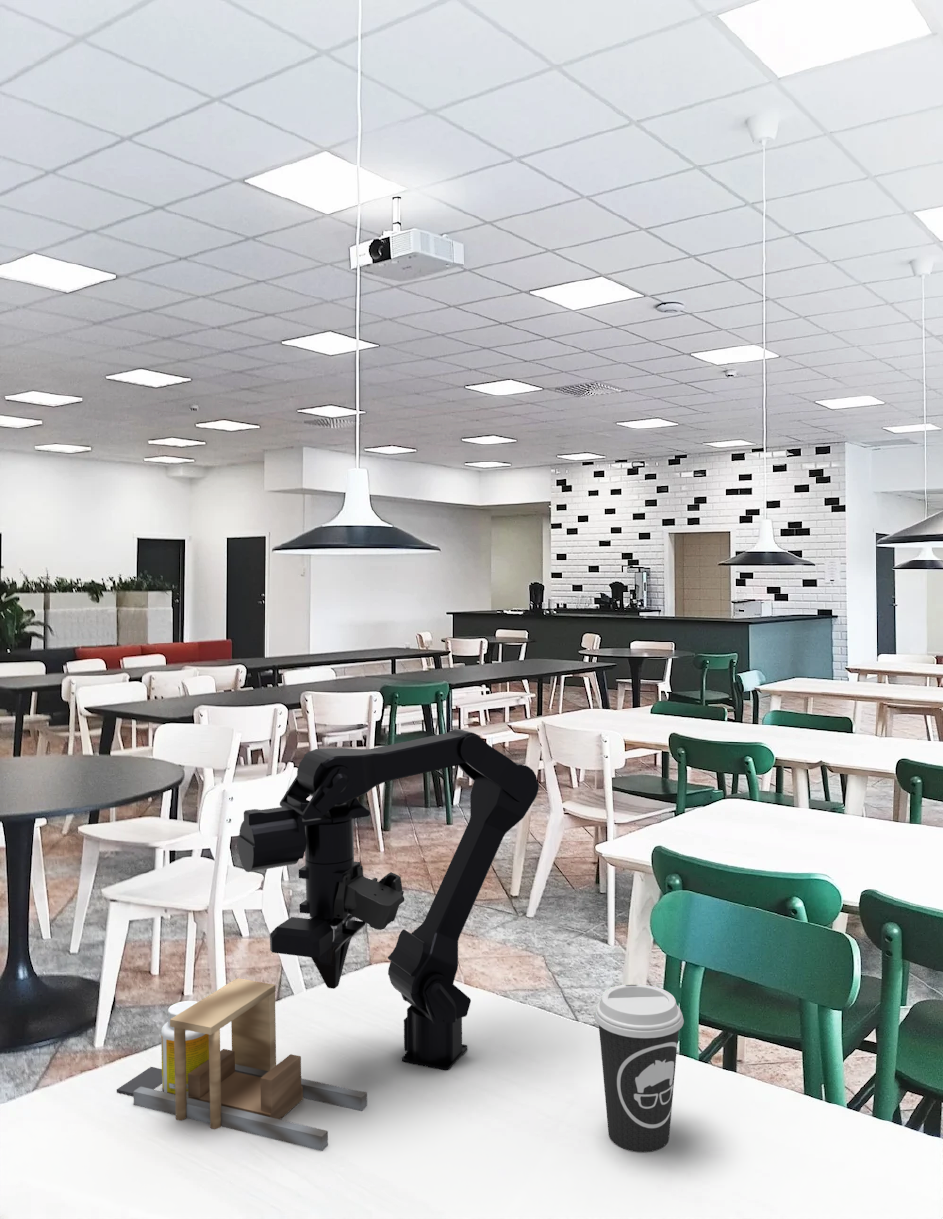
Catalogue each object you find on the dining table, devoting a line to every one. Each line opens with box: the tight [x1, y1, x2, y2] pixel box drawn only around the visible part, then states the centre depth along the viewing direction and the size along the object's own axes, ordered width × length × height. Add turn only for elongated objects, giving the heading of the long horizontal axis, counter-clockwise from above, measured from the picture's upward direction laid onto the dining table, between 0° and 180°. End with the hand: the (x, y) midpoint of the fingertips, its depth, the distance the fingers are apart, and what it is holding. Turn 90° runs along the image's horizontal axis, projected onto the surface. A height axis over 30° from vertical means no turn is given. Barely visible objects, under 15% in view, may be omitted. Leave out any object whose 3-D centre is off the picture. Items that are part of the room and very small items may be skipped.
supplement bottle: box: [160, 1000, 209, 1098], centre depth 120 cm, size 6×6×10 cm
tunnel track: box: [133, 977, 368, 1152], centre depth 117 cm, size 25×12×12 cm, turn 67°
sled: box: [188, 1048, 304, 1120], centre depth 117 cm, size 11×7×5 cm, turn 67°
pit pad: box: [116, 1066, 162, 1097], centre depth 123 cm, size 4×6×1 cm, turn 157°
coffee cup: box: [593, 983, 685, 1153], centre depth 110 cm, size 10×10×15 cm
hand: (332, 987), depth 121 cm, fingers closed
